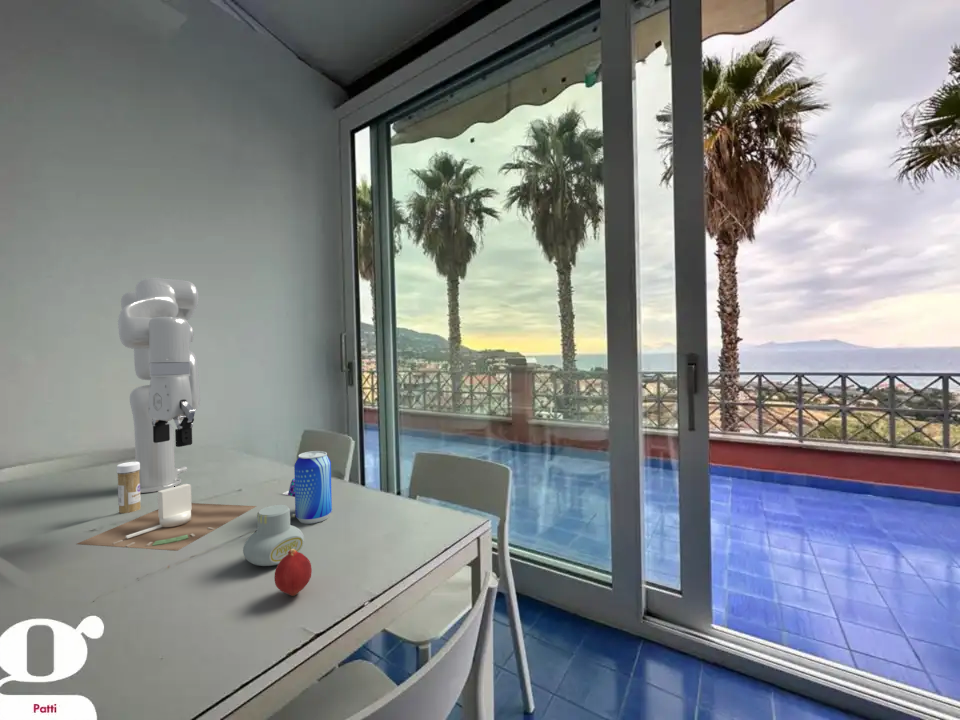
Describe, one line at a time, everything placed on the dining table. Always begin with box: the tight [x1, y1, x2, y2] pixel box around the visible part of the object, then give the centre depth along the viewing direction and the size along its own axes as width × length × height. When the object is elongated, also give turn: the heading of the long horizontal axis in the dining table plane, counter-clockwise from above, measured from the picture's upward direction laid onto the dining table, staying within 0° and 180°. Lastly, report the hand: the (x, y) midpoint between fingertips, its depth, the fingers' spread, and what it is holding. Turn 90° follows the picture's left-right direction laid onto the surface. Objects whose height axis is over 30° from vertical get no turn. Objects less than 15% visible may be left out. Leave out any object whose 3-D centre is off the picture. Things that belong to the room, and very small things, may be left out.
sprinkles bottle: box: [116, 461, 142, 514], centre depth 106 cm, size 5×5×14 cm
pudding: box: [282, 477, 295, 498], centre depth 120 cm, size 12×12×5 cm
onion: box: [274, 549, 313, 597], centre depth 71 cm, size 6×6×8 cm
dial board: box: [76, 502, 257, 551], centre depth 98 cm, size 24×24×2 cm
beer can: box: [293, 450, 333, 525], centre depth 104 cm, size 8×8×16 cm
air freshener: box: [242, 504, 305, 567], centre depth 83 cm, size 11×8×10 cm
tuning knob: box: [126, 483, 192, 539], centre depth 95 cm, size 12×6×8 cm, turn 152°
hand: (172, 443), depth 97 cm, fingers open, 9 cm apart
